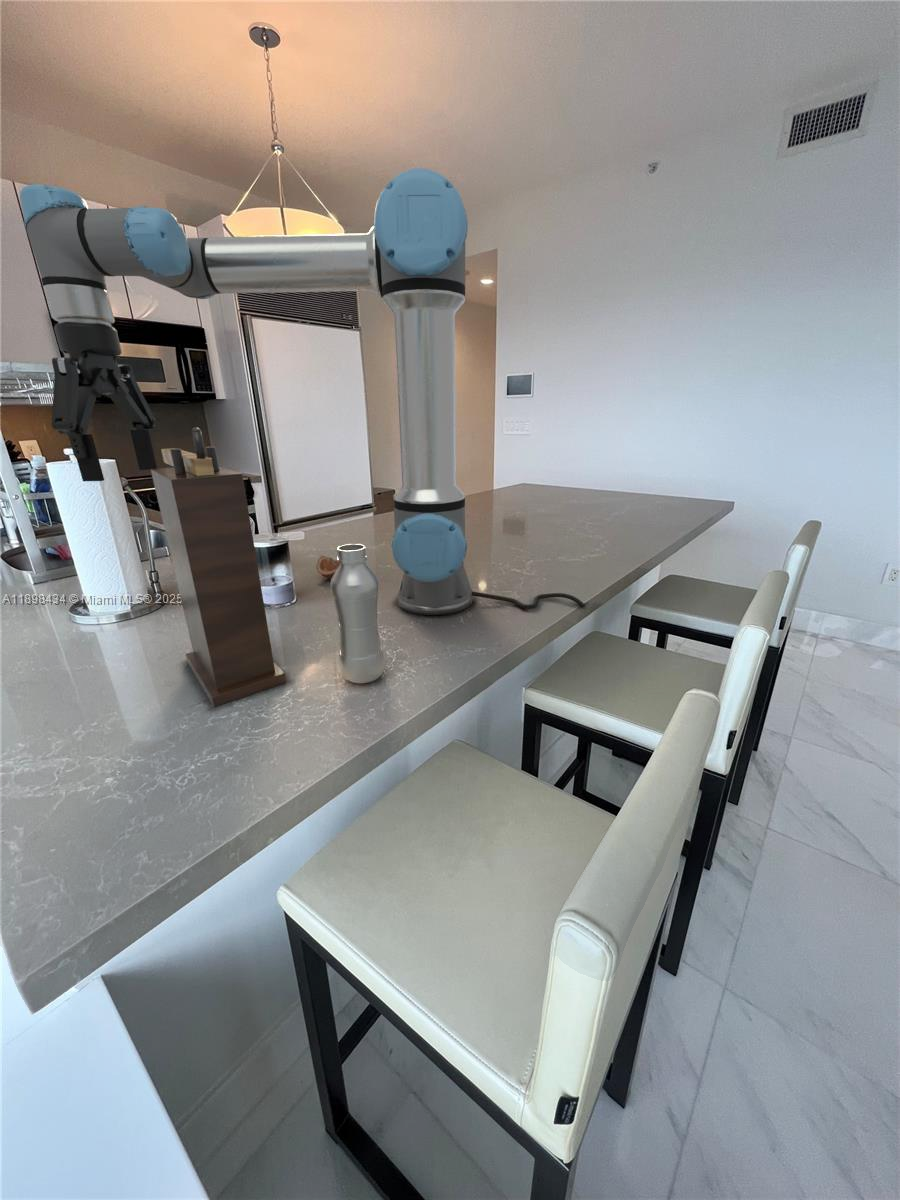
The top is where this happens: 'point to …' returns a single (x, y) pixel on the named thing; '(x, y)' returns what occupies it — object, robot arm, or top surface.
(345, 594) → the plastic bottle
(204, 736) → the top surface
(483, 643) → the top surface
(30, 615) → the top surface
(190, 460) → the hanger bar
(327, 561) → the fruit slice
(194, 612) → the hook stand
